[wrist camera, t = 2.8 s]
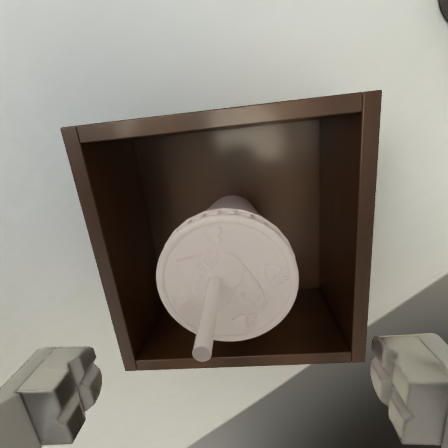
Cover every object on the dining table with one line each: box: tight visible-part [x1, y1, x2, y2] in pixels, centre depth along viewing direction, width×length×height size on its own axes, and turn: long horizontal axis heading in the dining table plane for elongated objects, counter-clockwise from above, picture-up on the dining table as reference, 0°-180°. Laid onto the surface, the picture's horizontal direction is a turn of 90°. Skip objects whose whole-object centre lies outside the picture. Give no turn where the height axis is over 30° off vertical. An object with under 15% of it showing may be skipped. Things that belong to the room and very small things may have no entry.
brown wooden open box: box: [61, 90, 382, 371], centre depth 18 cm, size 15×15×7 cm
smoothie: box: [156, 195, 299, 362], centre depth 15 cm, size 6×6×14 cm
